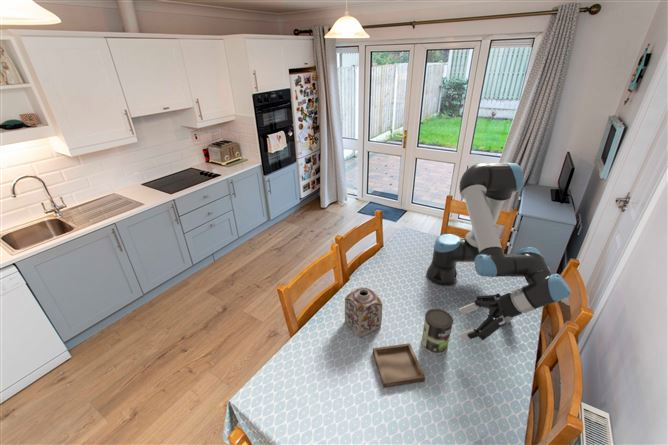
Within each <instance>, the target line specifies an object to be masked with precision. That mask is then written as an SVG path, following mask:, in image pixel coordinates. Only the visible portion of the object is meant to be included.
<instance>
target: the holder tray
mask: <svg viewBox="0 0 668 445" xmlns="http://www.w3.org/2000/svg"><path fill="white" fill-rule="evenodd" d="M372 354H373V358H374V361H375V364H376V368H377V372H378V374H379V377H380V381H381V385H382V388H383V389H386V388H392V387H398V386H404V385H411V384H417V383H424V382H425V380H426V375H425V374H424V371H423V369H422V367H421V364H420V362H419V360H418V358H417V356H416V353H415V351H414V349H413V346H412V345H411V343H410V342H408V343H407V342H406V343H401V344H393V345H387V346H380V347H379V346H378V347H373V348H372Z"/></svg>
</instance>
